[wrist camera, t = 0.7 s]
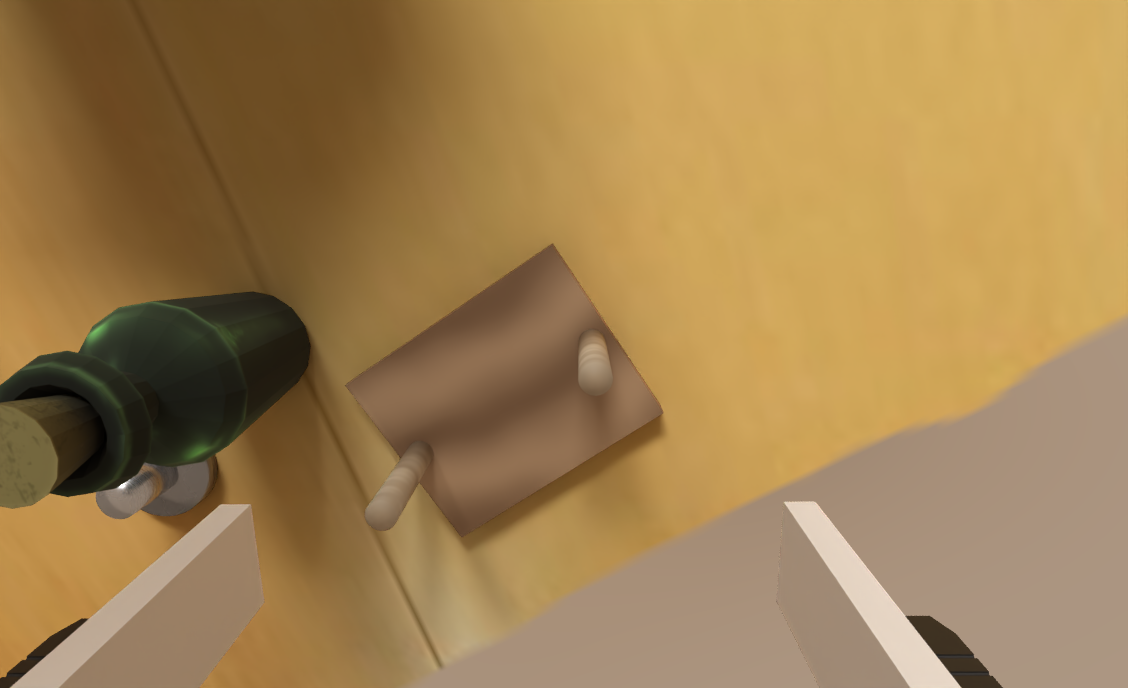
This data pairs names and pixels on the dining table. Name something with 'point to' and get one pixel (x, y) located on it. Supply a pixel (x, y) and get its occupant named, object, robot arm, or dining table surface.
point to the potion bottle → (146, 393)
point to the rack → (501, 397)
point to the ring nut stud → (160, 490)
